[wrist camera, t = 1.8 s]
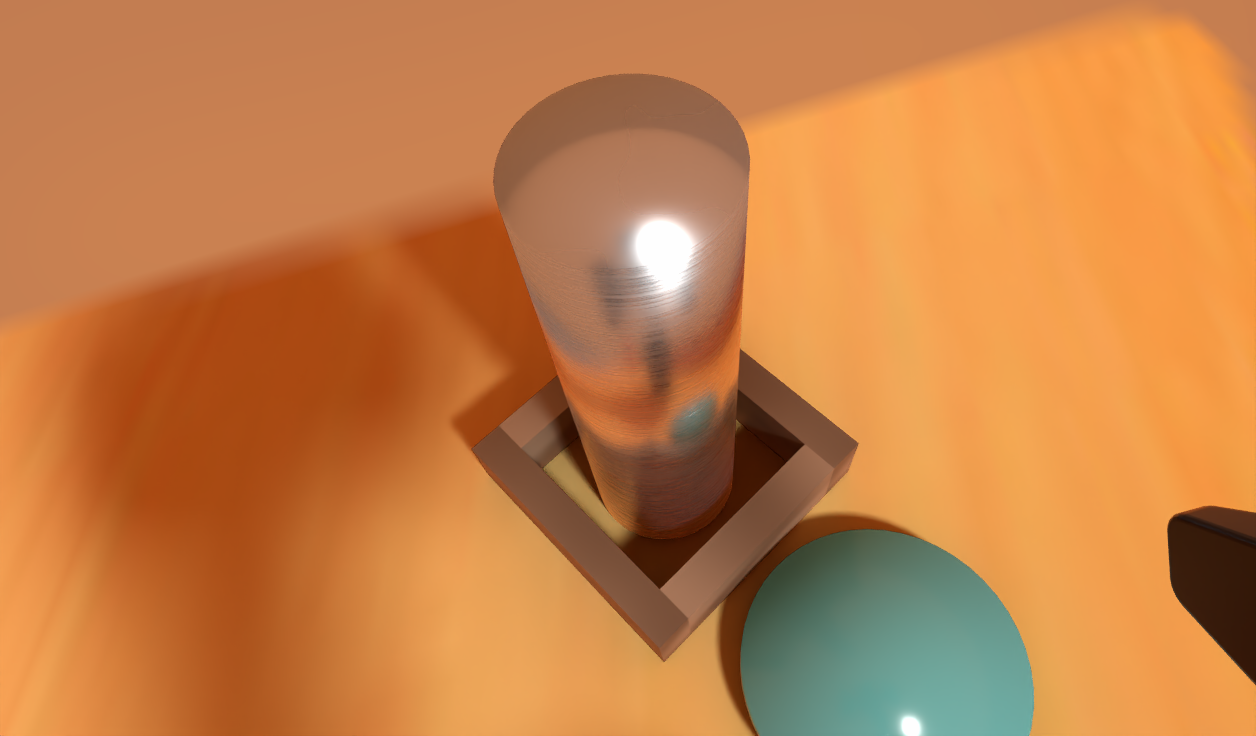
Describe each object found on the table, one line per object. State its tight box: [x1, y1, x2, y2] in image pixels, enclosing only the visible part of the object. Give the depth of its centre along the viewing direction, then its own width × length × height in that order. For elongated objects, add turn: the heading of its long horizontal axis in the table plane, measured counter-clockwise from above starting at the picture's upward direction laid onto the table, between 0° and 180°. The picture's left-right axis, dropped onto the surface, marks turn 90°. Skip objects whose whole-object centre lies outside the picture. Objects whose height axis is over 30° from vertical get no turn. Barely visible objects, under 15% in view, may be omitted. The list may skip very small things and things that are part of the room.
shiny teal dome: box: [740, 529, 1034, 736], centre depth 20 cm, size 7×7×1 cm
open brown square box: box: [472, 349, 859, 661], centre depth 23 cm, size 8×8×2 cm
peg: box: [493, 74, 750, 540], centre depth 18 cm, size 4×4×13 cm
